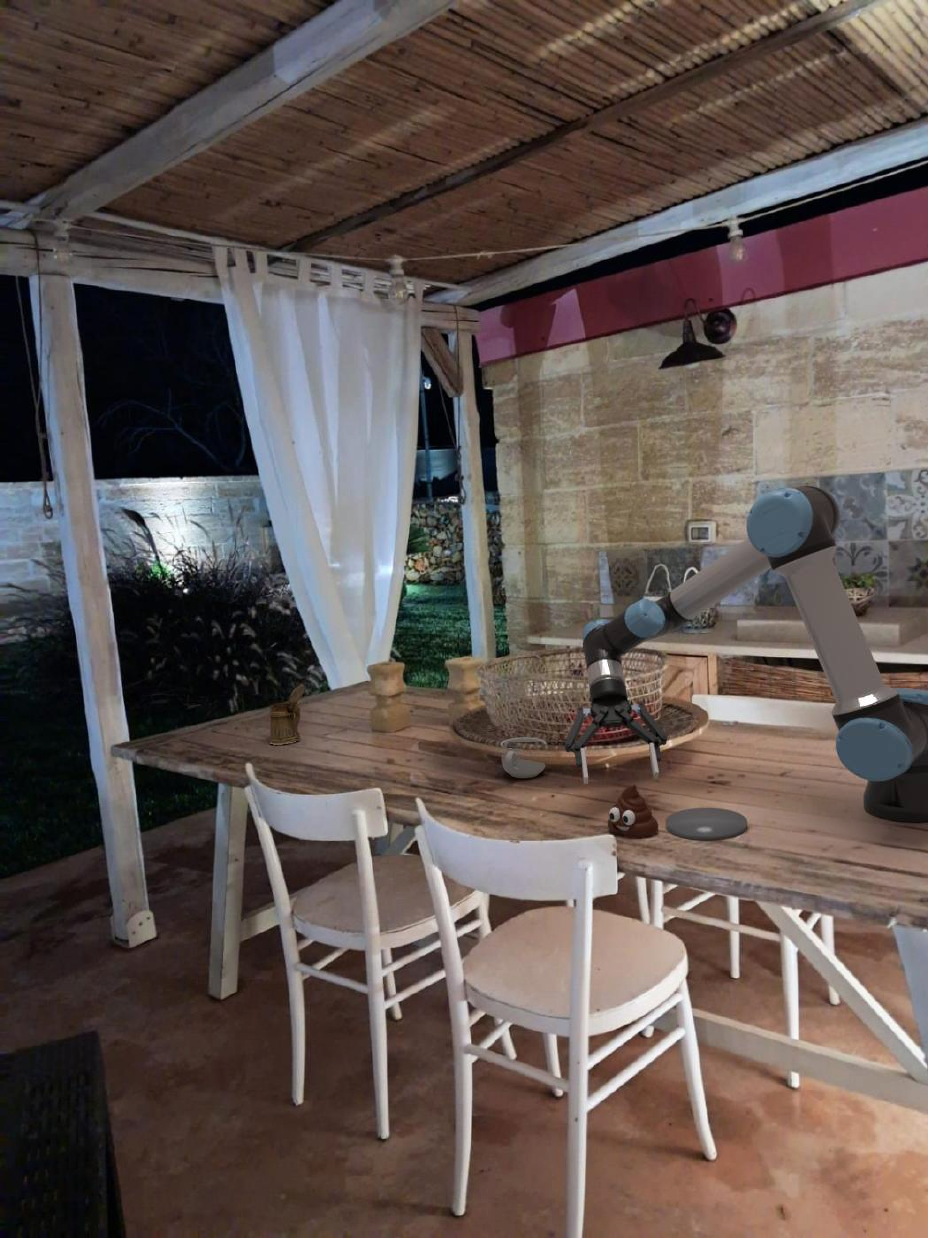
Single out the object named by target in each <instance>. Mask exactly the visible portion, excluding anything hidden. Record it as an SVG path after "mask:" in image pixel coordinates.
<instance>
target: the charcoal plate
mask: <svg viewBox="0 0 928 1238" xmlns="http://www.w3.org/2000/svg"><path fill="white" fill-rule="evenodd" d="M665 829H666V830H667V832H669V833H670V834H671V833H672V834H671V835H673V834H674V835H673V836H675V835H677V836H676V837H678V836H679V838H681V839H687V840H692V841H704V840H706V841H707V840H708V841H709V840H710V841H722V840H727V838H728V839H732V838H734V837H737V835H738V836H740V835H742V834H744V833H745V832H746V830H747V829H748V820H747V818H746V817H745V816H744V815H743V814H742V813H739V812H737V811H734V810H730V809H726V808H719V807H692V808H687V809H682V810H678V811H675V812H673V813H671V814H669V815H668V816H667V817H666V818H665ZM731 837H732V838H731ZM721 839H722V840H721ZM708 841H707V842H708Z"/></svg>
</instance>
